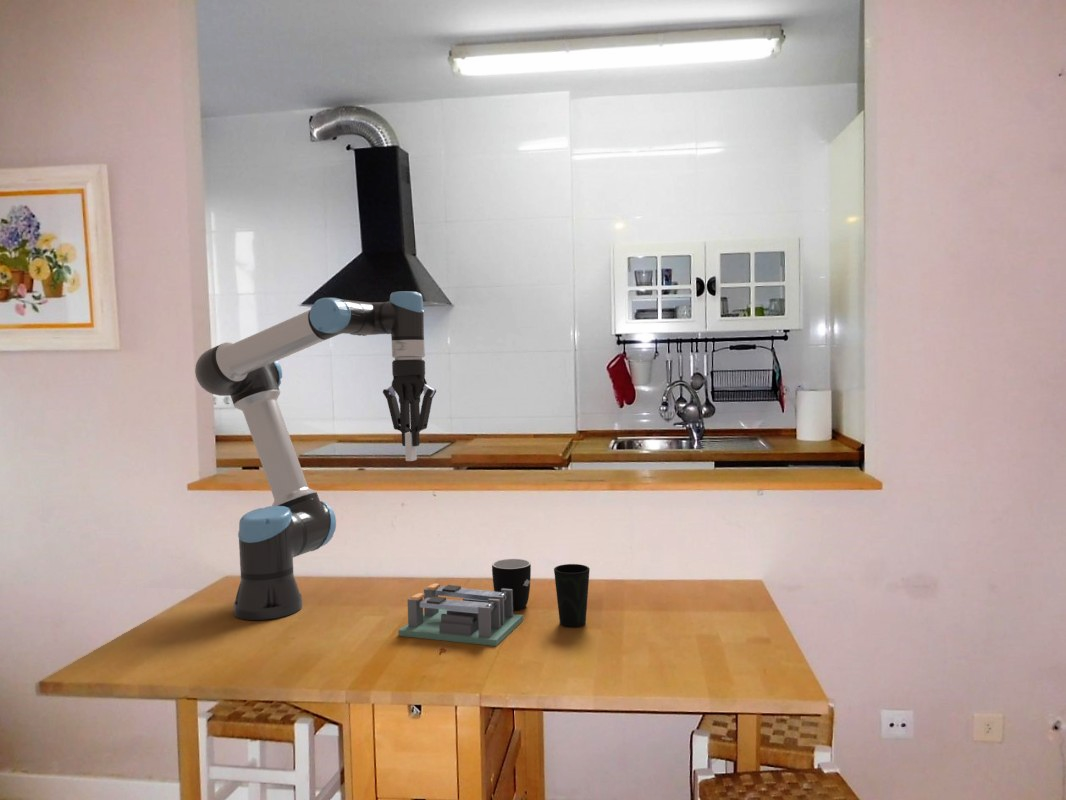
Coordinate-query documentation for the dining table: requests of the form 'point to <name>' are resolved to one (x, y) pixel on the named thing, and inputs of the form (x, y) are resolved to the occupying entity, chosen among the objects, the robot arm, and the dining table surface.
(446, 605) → the strap near
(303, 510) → the robot arm
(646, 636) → the dining table surface
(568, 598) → the cup
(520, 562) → the mug
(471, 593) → the strap far
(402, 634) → the socket board
